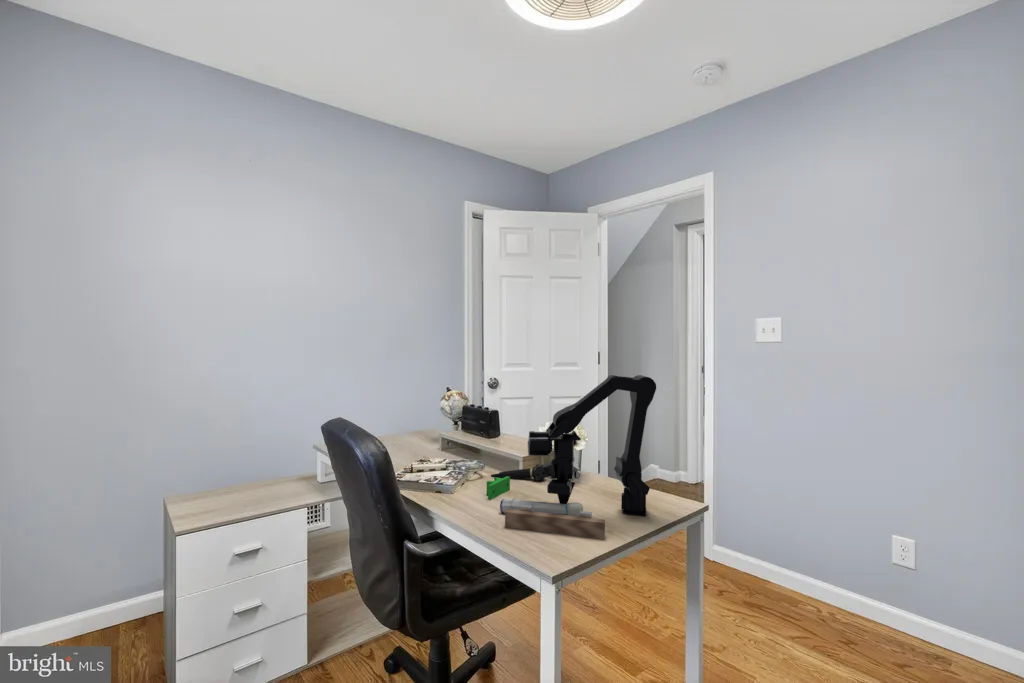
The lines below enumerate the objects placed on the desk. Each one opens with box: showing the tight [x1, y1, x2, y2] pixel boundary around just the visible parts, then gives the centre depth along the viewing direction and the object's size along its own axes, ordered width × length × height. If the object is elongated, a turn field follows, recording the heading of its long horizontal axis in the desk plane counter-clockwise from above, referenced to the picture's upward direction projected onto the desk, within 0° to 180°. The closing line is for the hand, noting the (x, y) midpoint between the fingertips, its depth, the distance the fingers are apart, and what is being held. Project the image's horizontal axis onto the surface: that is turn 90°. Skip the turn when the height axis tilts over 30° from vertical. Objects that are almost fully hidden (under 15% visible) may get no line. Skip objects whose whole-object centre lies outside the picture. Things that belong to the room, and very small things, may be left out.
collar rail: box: [504, 505, 606, 540], centre depth 127 cm, size 26×4×5 cm, turn 75°
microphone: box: [490, 463, 545, 482], centre depth 171 cm, size 6×6×20 cm
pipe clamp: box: [486, 476, 511, 500], centre depth 155 cm, size 11×4×5 cm, turn 149°
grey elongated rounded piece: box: [499, 497, 584, 517], centre depth 134 cm, size 5×7×25 cm
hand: (563, 509), depth 139 cm, fingers closed
